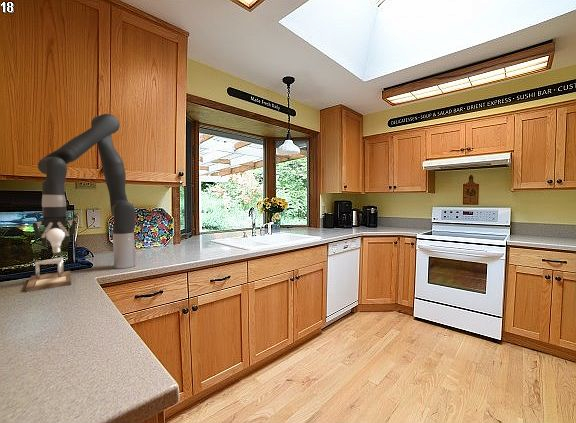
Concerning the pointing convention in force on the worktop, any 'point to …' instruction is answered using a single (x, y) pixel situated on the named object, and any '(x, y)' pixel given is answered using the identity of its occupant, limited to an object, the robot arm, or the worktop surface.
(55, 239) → the lightbulb
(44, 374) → the worktop surface
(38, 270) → the silver arch frame
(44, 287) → the walnut board
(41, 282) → the cork pad
